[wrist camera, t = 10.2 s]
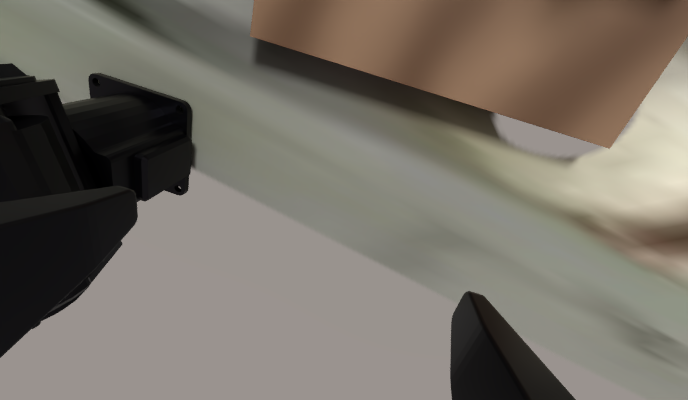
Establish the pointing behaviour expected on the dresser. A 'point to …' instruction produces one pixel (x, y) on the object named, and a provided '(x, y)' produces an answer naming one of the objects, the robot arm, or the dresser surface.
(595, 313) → the dresser surface
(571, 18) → the keeper board
